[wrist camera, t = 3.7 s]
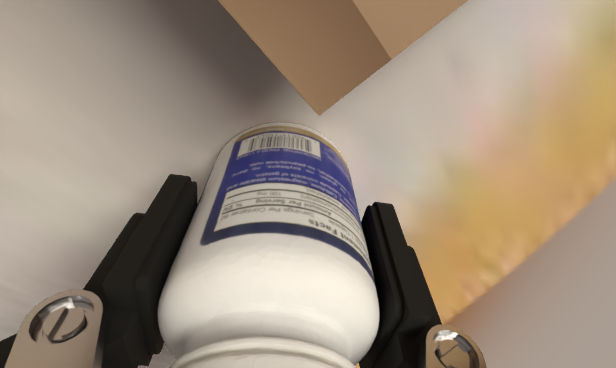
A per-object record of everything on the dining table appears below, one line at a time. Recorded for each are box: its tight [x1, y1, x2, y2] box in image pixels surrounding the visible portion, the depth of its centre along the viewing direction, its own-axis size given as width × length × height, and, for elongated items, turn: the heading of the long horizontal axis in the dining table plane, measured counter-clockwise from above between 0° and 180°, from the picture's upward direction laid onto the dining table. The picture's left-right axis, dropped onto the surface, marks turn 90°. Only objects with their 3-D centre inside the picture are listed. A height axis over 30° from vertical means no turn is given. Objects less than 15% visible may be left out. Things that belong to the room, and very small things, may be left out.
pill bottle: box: [158, 122, 380, 368], centre depth 9 cm, size 5×5×9 cm
